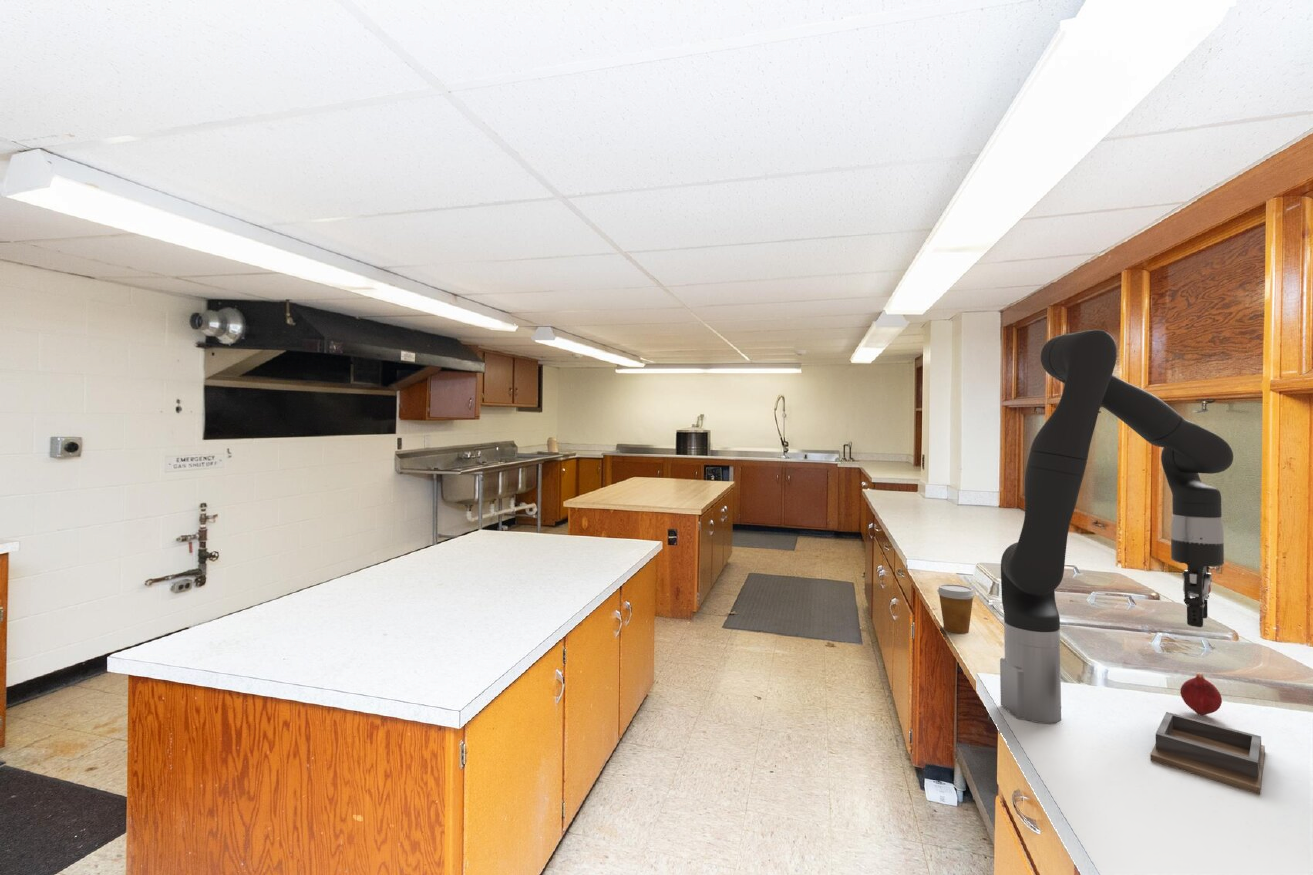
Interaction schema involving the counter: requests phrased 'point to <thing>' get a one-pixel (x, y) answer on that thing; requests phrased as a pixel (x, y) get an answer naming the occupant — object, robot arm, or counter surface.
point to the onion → (1201, 695)
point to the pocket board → (1210, 751)
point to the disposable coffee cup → (956, 607)
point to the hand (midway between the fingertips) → (1197, 621)
